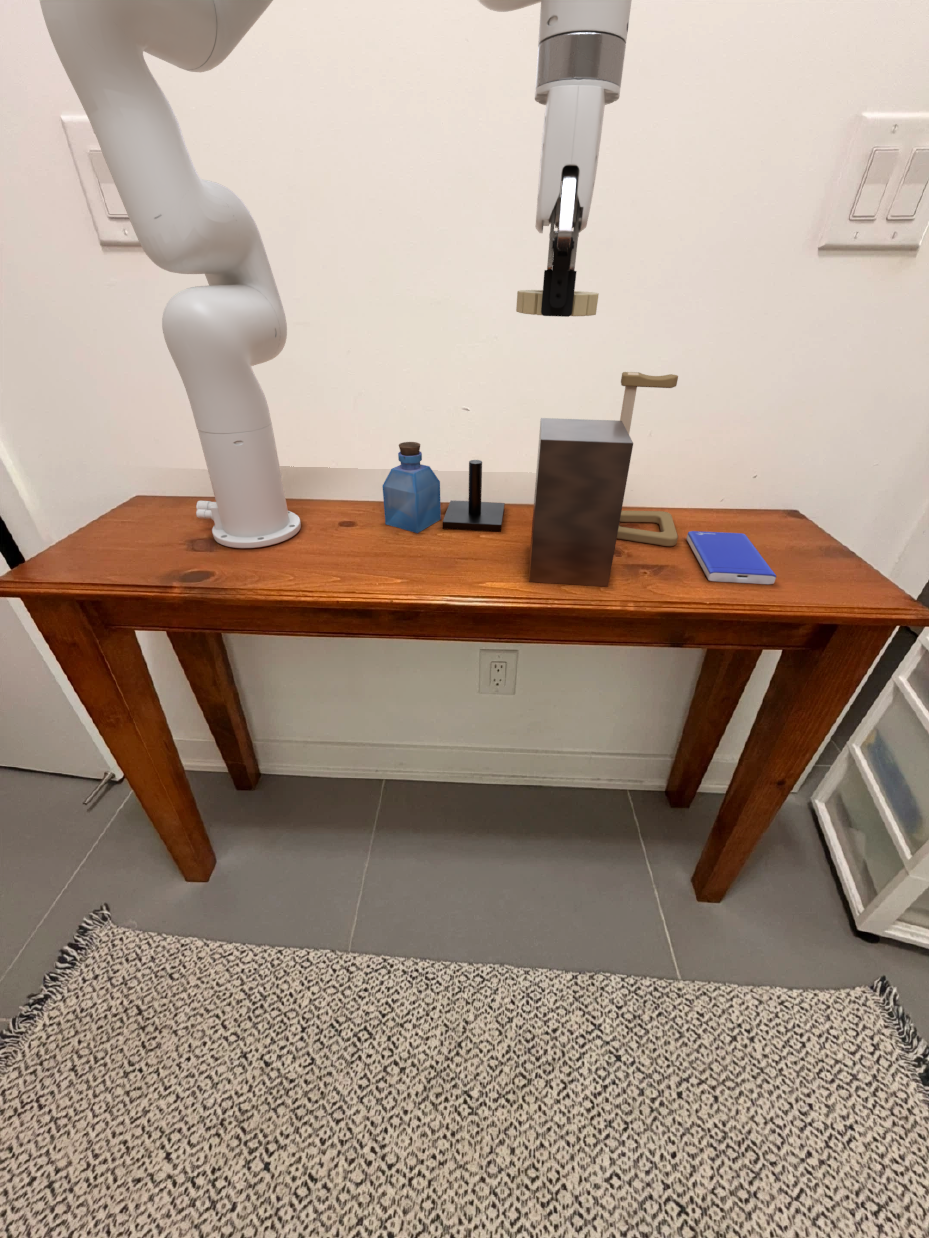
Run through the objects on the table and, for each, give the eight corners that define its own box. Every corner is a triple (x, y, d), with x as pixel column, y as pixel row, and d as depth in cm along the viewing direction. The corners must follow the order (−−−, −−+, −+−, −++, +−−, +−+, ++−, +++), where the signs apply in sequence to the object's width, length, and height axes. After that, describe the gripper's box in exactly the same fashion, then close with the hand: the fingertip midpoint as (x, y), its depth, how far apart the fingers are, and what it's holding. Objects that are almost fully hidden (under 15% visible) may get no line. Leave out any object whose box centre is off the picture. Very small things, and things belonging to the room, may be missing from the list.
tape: (511, 314, 58) (512, 292, 57) (522, 308, 65) (523, 289, 64) (595, 317, 56) (598, 295, 55) (596, 311, 64) (599, 291, 63)
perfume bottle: (440, 519, 86) (439, 443, 80) (417, 533, 82) (413, 453, 75) (409, 511, 89) (405, 436, 82) (385, 524, 85) (379, 446, 78)
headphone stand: (677, 547, 78) (717, 384, 66) (599, 541, 80) (624, 380, 68) (669, 519, 87) (703, 370, 75) (599, 514, 88) (621, 367, 76)
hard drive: (688, 530, 79) (710, 570, 69) (746, 533, 79) (777, 574, 68) (685, 540, 80) (707, 581, 70) (743, 543, 80) (773, 585, 69)
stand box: (528, 582, 70) (540, 439, 60) (530, 548, 78) (540, 417, 68) (608, 587, 69) (633, 443, 59) (601, 551, 77) (622, 420, 67)
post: (442, 529, 83) (441, 470, 78) (450, 507, 91) (450, 451, 86) (501, 532, 82) (503, 472, 77) (504, 509, 90) (507, 454, 85)
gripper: (537, 99, 55) (523, 308, 65) (533, 48, 42) (517, 320, 52) (613, 99, 54) (587, 310, 64) (633, 46, 41) (596, 323, 51)
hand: (556, 313), depth 58 cm, fingers closed on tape, 2 cm apart
